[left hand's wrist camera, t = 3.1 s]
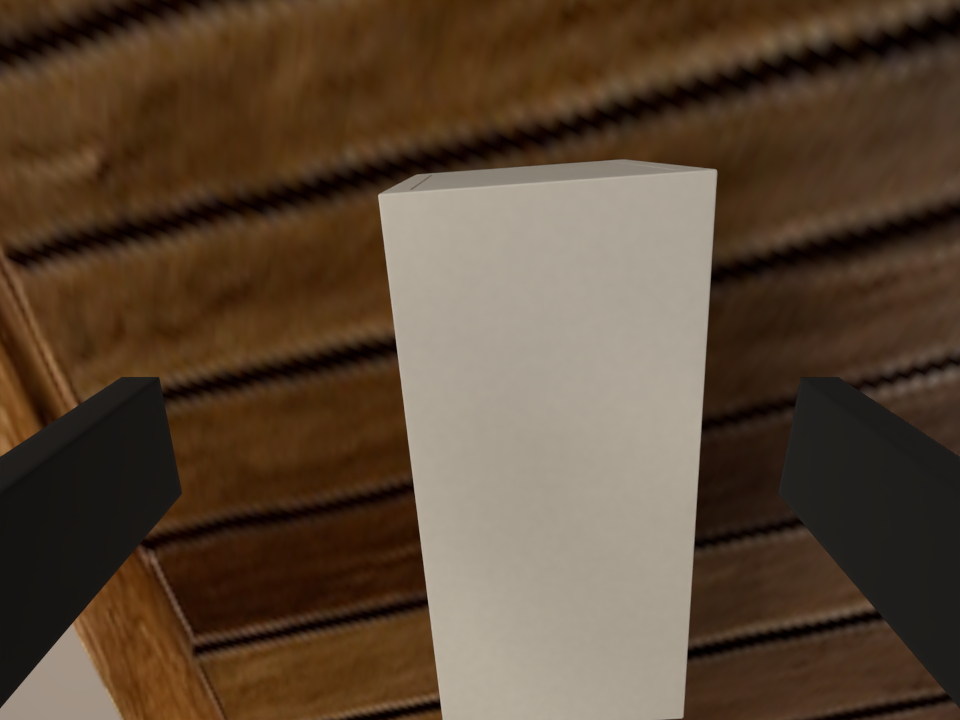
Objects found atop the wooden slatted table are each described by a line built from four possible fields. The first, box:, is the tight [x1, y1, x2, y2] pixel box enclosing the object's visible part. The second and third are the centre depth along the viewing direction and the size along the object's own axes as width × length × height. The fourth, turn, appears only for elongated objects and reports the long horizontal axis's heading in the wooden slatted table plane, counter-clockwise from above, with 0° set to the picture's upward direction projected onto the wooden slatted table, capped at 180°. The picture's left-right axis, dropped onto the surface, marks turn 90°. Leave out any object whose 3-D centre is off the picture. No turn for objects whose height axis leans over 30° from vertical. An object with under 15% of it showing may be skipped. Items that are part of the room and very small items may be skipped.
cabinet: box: [378, 159, 717, 720], centre depth 27 cm, size 22×10×12 cm, turn 4°
